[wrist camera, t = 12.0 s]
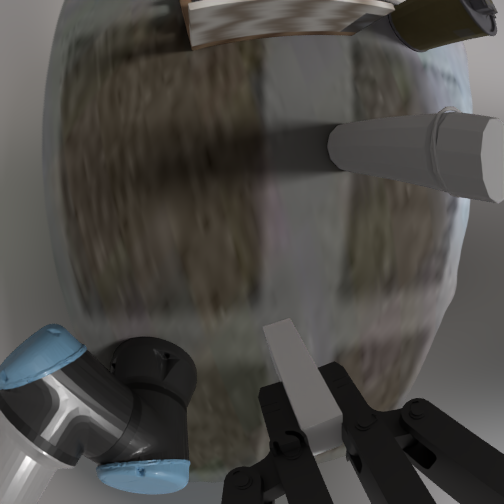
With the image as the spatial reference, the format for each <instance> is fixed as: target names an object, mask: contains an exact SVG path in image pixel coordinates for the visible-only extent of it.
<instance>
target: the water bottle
mask: <svg viewBox="0 0 504 504" xmlns="http://www.w3.org/2000/svg"><path fill="white" fill-rule="evenodd" d="M448 110H453V111H455V112H449V113H444V112H446V111H448ZM327 148H328V152H329V155H330V159H331V160H332V161H333V162H334V164H335V165H336V166H337V167H338V168H339V169H342V170H345V171H349V172H353V173H359V174H365V175H371V176H376V177H382V178H387V179H392V180H397V181H402V182H406V183H411V184H415V185H420V186H424V187H428V188H432V189H436V190H440V191H444V192H448V193H449V194H450V195H452V196H454V197H458V198H459V197H462V198H469V199H475V200H481V201H487V202H493V203H499V202H501V201H503V200H504V124H503V123H502V122H501V121H500V119H499V118H493V117H488V116H481V115H475V114H467V113H462V112H461V111H460V110H458V109H457V108H455V107H445V108H443V109H442V110H441V111H439V112H438V113H437V114H421V115H408V116H398V117H388V118H380V119H372V120H365V121H358V122H351V123H346V124H341V125H337V126H336V128H335V129H334V130H333V131H332V132H331V133H330V135H329V139H328V144H327Z"/></svg>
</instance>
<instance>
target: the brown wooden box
mask: <svg viewBox="0 0 504 504" xmlns="http://www.w3.org/2000/svg"><path fill="white" fill-rule="evenodd" d="M179 2H180V5H181V9H182V13H183V17H184V21H185V25H186V29H187V33H188V36H189V40H190V44H191V48H192V51H193V50H197V49H201V48H206V47H210V46H215V45H220V44H226V43H231V42H237V41H244V40H251V39H259V38H268V37H279V36H293V35H350V36H352V35H354V34H355V33H357V32H358V31H360V30H362V29H363V28H365V27H367V26H368V25H370V24H372V23H373V22H375V21H377V20H378V19H380V18H382V17H384V16H385V15H387V14H389V13H391V12H392V11H394V10H395V8H394V6H393V4H391V3H386V2H382V1H378V0H202V1H197V2H192V3H191V0H179Z"/></svg>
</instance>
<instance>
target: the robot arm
mask: <svg viewBox="0 0 504 504" xmlns="http://www.w3.org/2000/svg"><path fill="white" fill-rule="evenodd" d="M263 331H264V334H265V338H266V341H267V344H268V348H269V351H270V355H271V358H272V361H273V364H274V367H275V370H276V372H277V375H278V378H279V381H280V382H278V383H275V384H271V385H268V386H265V387H262V388H260V392H259V396H258V398H259V402H260V405H261V409H262V413H263V416H264V420H265V423H266V427H267V430H268V434H269V437H270V442H269V445H270V452H269V454H268V455H267V456H266V457H265V458H264V459H263V460H261V461H260V462H258V463H256V464H255V465H253V466H251V467H244V466H243V467H237V468H235V469H233V470H231V471H230V472H229V473H228V474H227V475H226V478H225V480H224V487H223V495H222V503H221V504H275V499H277V498H279V497H280V496H282V495H284V494H286V497H287V500H288V503H289V504H333V501H332V499H331V497H330V494H329V492H328V490H327V487H326V485H325V482H324V480H323V478H322V475H321V473H320V470H319V468H318V466H317V463H316V461H315V458H314V455H317V454H320V453H323V452H325V451H328V450H330V449H333V448H335V447H338V446H340V445H342V444H343V442H344V444H345V446H346V448H347V450H346V459H347V461H349V460H350V461H351V464H352V466H353V468H354V470H355V471H356V474H357V475H358V478H359V480H360V482H361V483H362V486H363V488H364V490H365V492H366V493H367V496H368V498H369V500H370V502H371V504H436V502H435V501H434V499H433V498H432V496H431V494H430V493H429V491H428V489H427V488H426V486H425V485H424V483H423V481H422V480H421V478H420V477H419V475H418V474H417V472H416V470H415V469H414V467H413V466H412V465H414V466H415V467H416V468H417V469H418V470H419V471H421V472H422V473H423V474H424V475H425V476H427V477H428V478H429V479H430V480H431V481H433V482H434V483H435V484H436V485H437V486H439V487H440V488H441V489H442V490H443V491H445V492H446V493H447V494H448V495H450V496H451V497H452V498H453V499H455V500H456V501H457V502H459V503H460V504H504V454H503V453H501V452H499V451H498V450H497V449H495V448H494V447H492V446H491V445H489V444H488V443H487V442H485V441H484V440H482V439H481V438H479V437H478V436H476V435H475V434H474V433H472V432H471V431H469V430H468V429H467V428H465V427H464V426H462V425H461V424H459V423H458V422H456V421H455V420H454V419H453V418H451V417H450V416H448V415H447V414H446V413H444V412H443V411H441V410H440V409H439V408H437V407H436V406H434V405H433V404H432V403H430V402H429V401H427V400H425V399H421V398H415V399H412V400H410V401H408V402H407V403H406V404H405V405H404V406H403V408H401V409H397V410H392V411H386V412H381V411H376V410H374V409H372V408H371V407H370V406H369V405H368V404H367V403H366V401H365V400H364V398H363V396H362V395H361V393H360V392H359V390H358V389H357V387H356V386H355V384H354V383H353V381H352V380H351V378H350V376H349V375H348V373H347V372H346V370H345V369H344V367H343V366H341V365H340V364H338V363H336V362H335V361H334V362H332V363H329V364H327V365H324V366H321V367H319V368H317V366H316V365H315V363H314V361H313V359H312V357H311V355H310V354H309V352H308V350H307V348H306V346H305V344H304V343H303V341H302V339H301V337H300V335H299V333H298V332H297V330H296V328H295V326H294V324H293V323H292V321H291V319H290V318H288V319H285V320H282V321H279V322H276V323H273V324H270V325H266V326H263ZM196 384H197V372H196V367H195V364H194V362H193V360H192V359H191V357H190V356H189V355H188V354H187V353H186V352H185V351H184V350H183V349H181V348H180V347H178V346H177V345H175V344H173V343H171V342H168V341H165V340H162V339H158V338H152V337H139V338H134V339H130V340H128V341H126V342H124V343H122V344H121V345H120V346H119V347H118V348H117V349H116V351H115V353H114V355H113V358H112V361H111V366H110V371H109V370H107V369H106V368H105V367H104V366H103V365H102V364H101V363H100V362H99V361H98V360H97V359H96V358H95V357H94V356H93V355H92V354H91V353H90V352H89V351H88V350H87V348H86V346H85V345H84V344H81V343H80V342H79V341H78V340H77V339H75V338H74V337H73V336H72V335H71V334H70V333H69V332H68V331H67V330H66V329H65V328H64V327H63V326H61V325H58V324H49V325H46V326H44V327H43V328H41V329H40V330H39V331H37V332H36V333H34V334H33V335H31V336H30V337H29V338H28V339H26V340H25V341H24V342H23V343H22V344H21V345H20V346H18V347H17V348H16V349H15V350H14V351H13V352H12V353H11V354H10V355H9V356H8V357H7V358H6V359H5V360H4V362H3V363H2V364H1V365H0V504H37V503H38V501H39V499H40V498H41V496H42V494H43V492H44V490H45V488H46V487H47V485H48V483H49V482H50V480H51V478H52V476H53V475H54V473H55V471H56V470H57V469H64V468H74V467H75V465H76V463H77V462H78V460H79V458H80V457H81V455H84V456H85V457H87V458H89V459H91V460H92V461H94V462H95V463H97V464H98V467H97V468H96V471H97V476H98V478H99V479H100V480H101V481H102V482H103V483H105V484H107V485H109V486H111V487H113V488H116V489H120V490H123V491H127V492H133V493H140V494H165V493H171V492H176V491H179V490H180V489H182V488H184V487H185V486H186V485H187V482H188V480H189V466H190V461H189V449H188V432H187V406H188V404H189V402H190V400H191V397H192V395H193V392H194V391H195V388H196Z"/></svg>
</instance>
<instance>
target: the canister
mask: <svg viewBox="0 0 504 504" xmlns="http://www.w3.org/2000/svg"><path fill="white" fill-rule="evenodd" d="M394 8H395V10H394V11H392V12H391V13H389V21H390V24H391V26H392V28H393V30H394V32H395V33H396V35H397V36H398V37H399V38H400V40H401V41H402V42H404V43H405V44H406V45H407V46H408V47H409V48H411V49H413V50H415V51H418V52H426V51H427V50H429V49H432V48H436V47H439V46H443V45H447V44H451V43H455V42H459V41H463V40H468V39H472V38H478V37H483V36H489V35H490V36H494V35H496V33H497V27H496V22H495V19H494V18H496V16H495V14H496V13H497V10H496V8H495V6H494V4H493V2H492V1H491V0H406V1H404V2H402V3H400V4H399V5H394Z"/></svg>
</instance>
